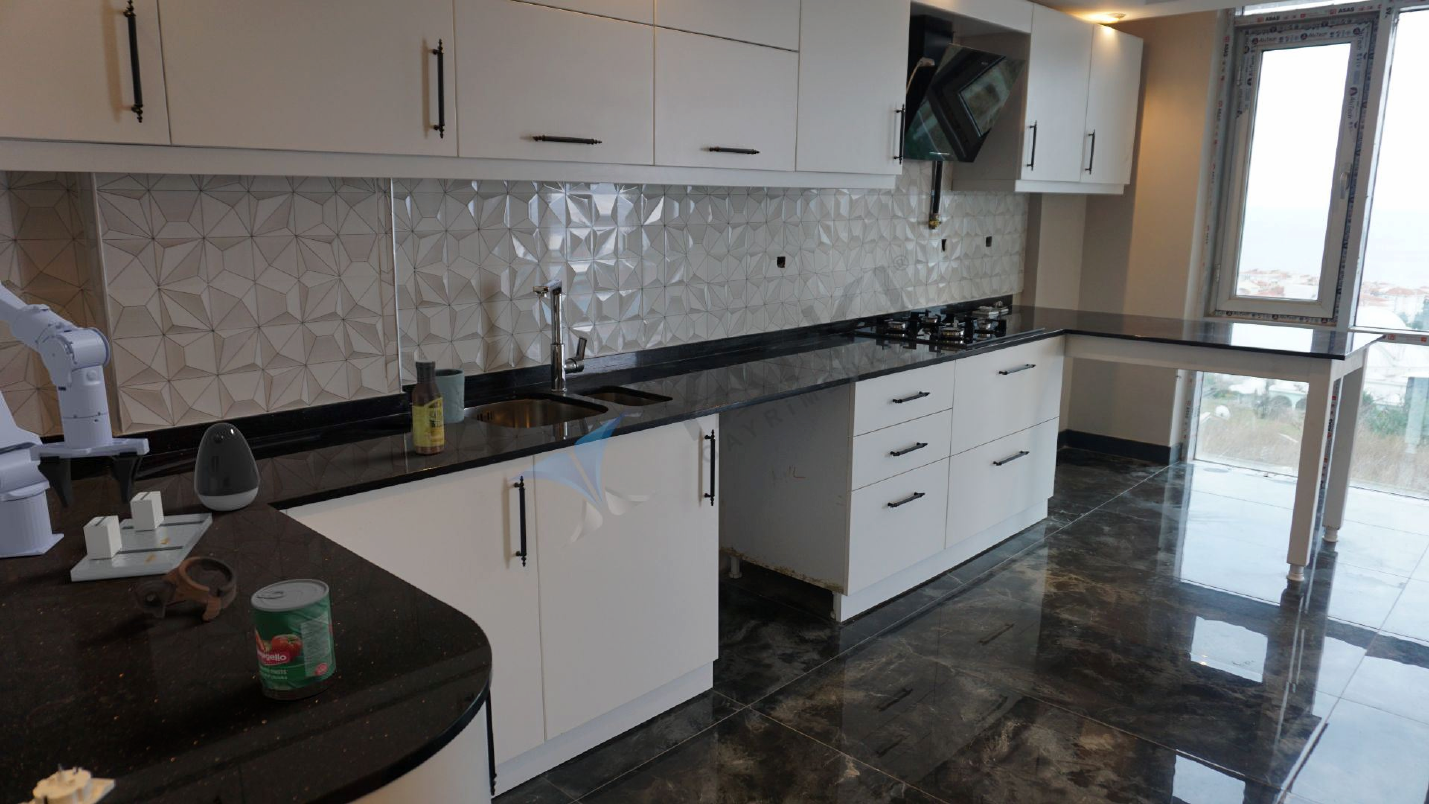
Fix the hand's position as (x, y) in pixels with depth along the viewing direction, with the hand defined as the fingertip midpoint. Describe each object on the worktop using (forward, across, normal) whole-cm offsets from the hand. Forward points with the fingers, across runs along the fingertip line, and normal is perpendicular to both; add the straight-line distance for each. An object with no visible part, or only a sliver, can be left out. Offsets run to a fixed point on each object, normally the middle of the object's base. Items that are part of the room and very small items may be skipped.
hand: (98, 503), depth 135 cm
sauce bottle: (+10, +44, +53) cm, 70 cm away
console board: (+10, +4, +5) cm, 11 cm away
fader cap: (+8, 0, 0) cm, 8 cm away
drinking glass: (+10, +47, +82) cm, 95 cm away
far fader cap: (+8, +3, +11) cm, 14 cm away
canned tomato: (+10, +34, -44) cm, 56 cm away
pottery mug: (+10, +16, -21) cm, 29 cm away
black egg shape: (+10, +12, +24) cm, 28 cm away
